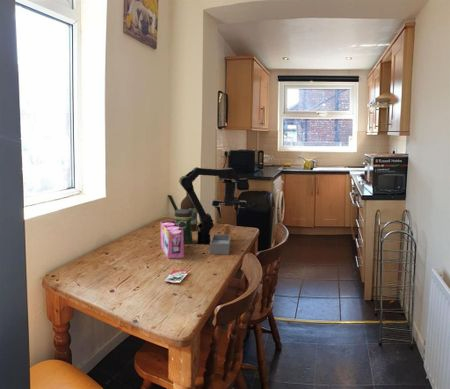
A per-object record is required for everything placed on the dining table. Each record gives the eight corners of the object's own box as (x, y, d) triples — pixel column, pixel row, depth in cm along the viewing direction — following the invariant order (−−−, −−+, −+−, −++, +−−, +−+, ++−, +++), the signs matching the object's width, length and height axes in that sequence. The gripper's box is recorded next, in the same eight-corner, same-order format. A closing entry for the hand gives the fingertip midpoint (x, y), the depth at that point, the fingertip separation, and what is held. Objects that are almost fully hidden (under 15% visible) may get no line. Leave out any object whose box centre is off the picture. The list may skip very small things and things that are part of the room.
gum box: (184, 258, 206) (184, 231, 204) (168, 260, 203) (168, 232, 201) (175, 245, 228) (174, 220, 226) (160, 246, 226) (160, 221, 224)
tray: (209, 253, 213) (209, 243, 212) (212, 244, 231) (212, 234, 230) (228, 254, 213) (228, 243, 212) (230, 244, 230) (230, 234, 229)
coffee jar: (193, 240, 237) (193, 208, 234) (190, 244, 229) (190, 211, 226) (176, 240, 238) (176, 207, 235) (173, 243, 231) (172, 210, 228)
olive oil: (177, 229, 263) (176, 189, 259) (190, 226, 270) (190, 188, 266) (187, 232, 255) (187, 191, 251) (201, 229, 262) (201, 189, 258)
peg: (224, 241, 237) (224, 225, 235) (224, 239, 240) (224, 224, 239) (230, 241, 237) (230, 225, 235) (230, 239, 240) (230, 224, 239)
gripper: (211, 192, 226) (211, 220, 228) (246, 193, 225) (245, 222, 227) (213, 189, 237) (212, 216, 239) (246, 190, 236) (245, 218, 238)
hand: (228, 218), depth 236 cm, fingers open, 9 cm apart
